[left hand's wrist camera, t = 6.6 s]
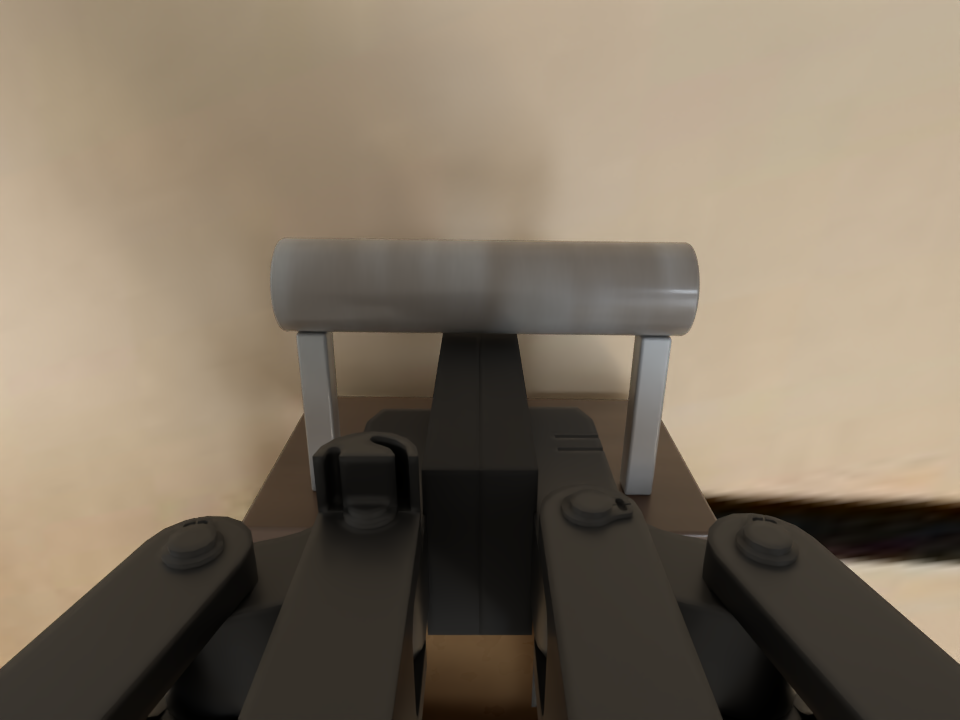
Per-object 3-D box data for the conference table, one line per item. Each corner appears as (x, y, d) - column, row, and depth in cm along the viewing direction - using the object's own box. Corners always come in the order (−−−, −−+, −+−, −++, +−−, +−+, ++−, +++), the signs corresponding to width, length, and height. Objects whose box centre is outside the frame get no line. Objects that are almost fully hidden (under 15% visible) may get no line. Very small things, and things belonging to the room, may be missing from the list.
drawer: (294, 201, 16) (193, 256, 11) (675, 205, 16) (777, 264, 11) (354, 834, 26) (318, 1043, 20) (597, 837, 26) (629, 1047, 20)
